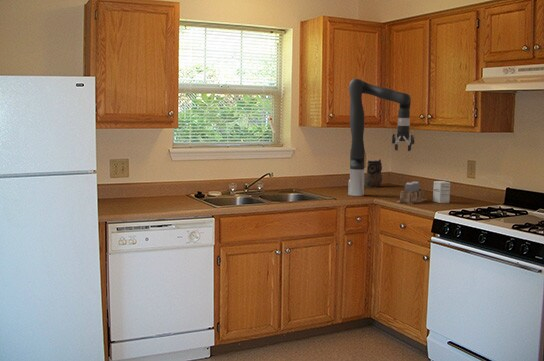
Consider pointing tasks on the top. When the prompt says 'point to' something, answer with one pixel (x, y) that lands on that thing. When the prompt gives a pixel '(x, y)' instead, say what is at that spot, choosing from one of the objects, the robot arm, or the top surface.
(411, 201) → the display stand
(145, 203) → the top surface
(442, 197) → the supplement box
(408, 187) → the frame bar
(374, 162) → the owl
